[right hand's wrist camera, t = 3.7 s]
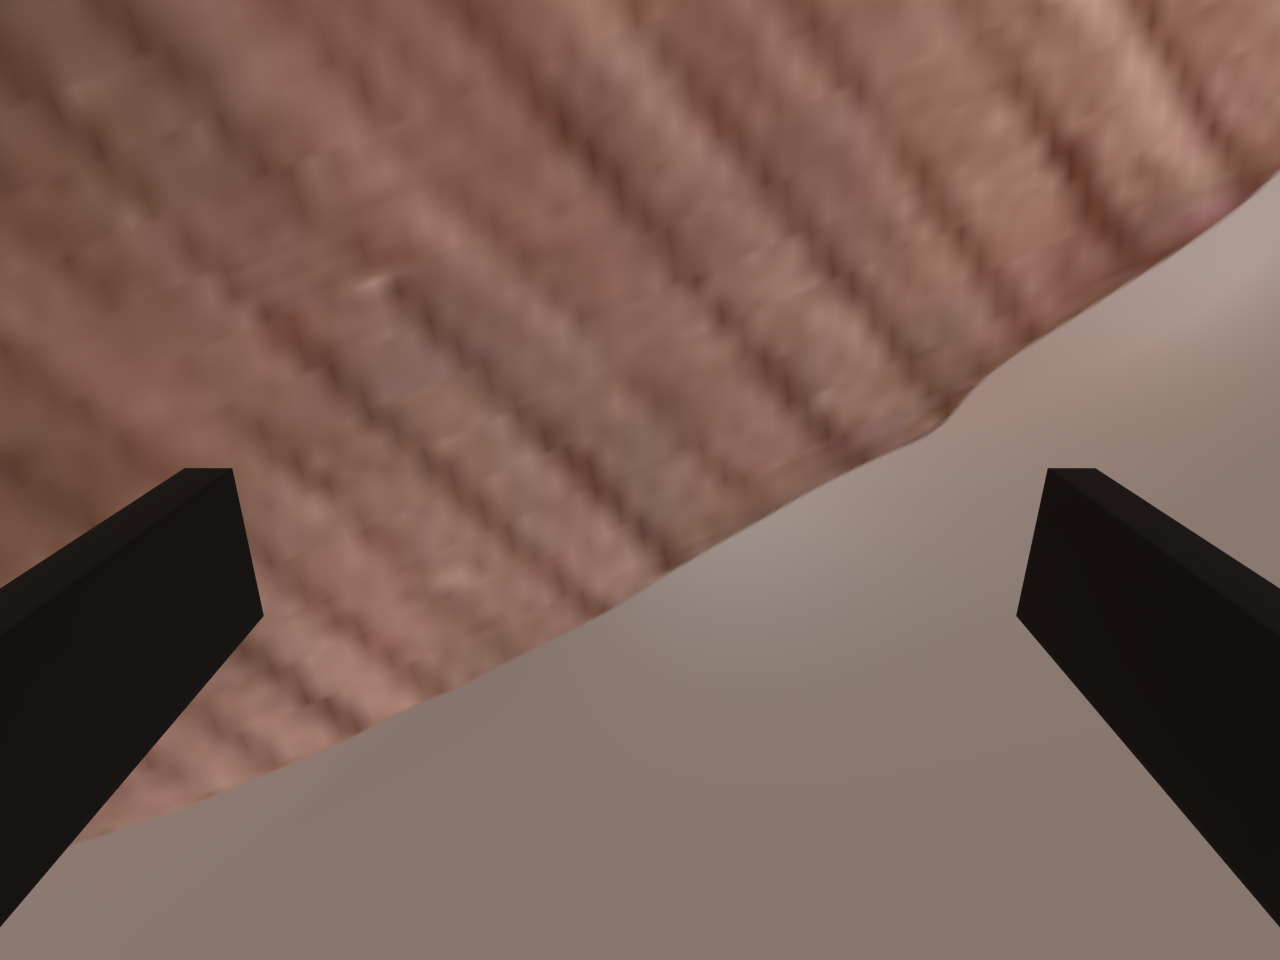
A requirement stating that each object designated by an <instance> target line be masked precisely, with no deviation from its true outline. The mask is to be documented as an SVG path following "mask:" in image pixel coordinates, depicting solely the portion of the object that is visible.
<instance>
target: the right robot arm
mask: <svg viewBox="0 0 1280 960" xmlns="http://www.w3.org/2000/svg"><path fill="white" fill-rule="evenodd" d="M263 616H264V615H263V610H262V605H261V601H260V596H259V591H258V587H257V582H256V577H255V573H254V568H253V563H252V559H251V554H250V549H249V545H248V540H247V535H246V531H245V526H244V521H243V517H242V512H241V507H240V503H239V498H238V493H237V489H236V484H235V479H234V475H233V470H232V468H184V469H183V470H181V471H180V472H178V473H177V474H175V475H174V476H172V477H171V478H169V479H167V480H166V481H164V482H163V483H161V484H160V485H158V486H157V487H155V488H154V489H152V490H151V491H149V492H147V493H146V494H144V495H143V496H141V497H140V498H138V499H137V500H135V501H134V502H132V503H131V504H129V505H128V506H126V507H124V508H123V509H121V510H120V511H118V512H117V513H115V514H114V515H112V516H111V517H109V518H108V519H106V520H105V521H103V522H101V523H100V524H98V525H97V526H95V527H94V528H92V529H91V530H89V531H88V532H86V533H85V534H83V535H82V536H80V537H78V538H77V539H75V540H74V541H72V542H71V543H69V544H68V545H66V546H65V547H63V548H62V549H60V550H59V551H57V552H55V553H54V554H52V555H51V556H49V557H48V558H46V559H45V560H43V561H42V562H40V563H39V564H37V565H36V566H34V567H32V568H31V569H29V570H28V571H26V572H25V573H23V574H22V575H20V576H19V577H17V578H16V579H14V580H13V581H11V582H9V583H8V584H6V585H5V586H3V587H2V588H0V927H1V926H2V924H3V923H4V922H5V921H6V920H7V918H8V917H9V916H10V915H11V914H12V913H13V911H14V910H15V909H16V908H17V907H18V905H19V904H20V903H21V902H22V901H23V900H24V898H25V897H26V896H27V895H28V894H29V892H30V891H31V890H32V889H33V888H34V887H35V885H36V884H37V883H38V882H39V881H40V879H41V878H42V877H43V876H44V875H45V874H46V872H47V871H48V870H49V869H50V868H51V867H52V865H53V864H54V863H55V862H56V861H57V859H58V858H59V857H60V856H61V855H62V854H63V852H64V851H65V850H66V849H67V848H68V846H69V845H70V844H71V843H72V842H73V841H74V839H75V838H76V837H77V836H78V835H79V833H80V832H81V831H82V830H83V829H84V828H85V826H86V825H87V824H88V823H89V822H90V820H91V819H92V818H93V817H94V816H95V815H96V813H97V812H98V811H99V810H100V809H101V807H102V806H103V805H104V804H105V803H106V802H107V800H108V799H109V798H110V797H111V796H112V794H113V793H114V792H115V791H116V790H117V789H118V787H119V786H120V785H121V784H122V783H123V781H124V780H125V779H126V778H127V777H128V776H129V774H130V773H131V772H132V771H133V770H134V768H135V767H136V766H137V765H138V764H139V763H140V761H141V760H142V759H143V758H144V757H145V755H146V754H147V753H148V752H149V751H150V750H151V748H152V747H153V746H154V745H155V744H156V742H157V741H158V740H159V739H160V738H161V737H162V735H163V734H164V733H165V732H166V731H167V729H168V728H169V727H170V726H171V725H172V724H173V722H174V721H175V720H176V719H177V718H178V716H179V715H180V714H181V713H182V712H183V711H184V709H185V708H186V707H187V706H188V705H189V703H190V702H191V701H192V700H193V699H194V698H195V696H196V695H197V694H198V693H199V692H200V690H201V689H202V688H203V687H204V686H205V685H206V683H207V682H208V681H209V680H210V679H211V678H212V676H213V675H214V674H215V673H216V672H217V670H218V669H219V668H220V667H221V666H222V665H223V663H224V662H225V661H226V660H227V659H228V657H229V656H230V655H231V654H232V653H233V652H234V650H235V649H236V648H237V647H238V646H239V644H240V643H241V642H242V641H243V640H244V639H245V637H246V636H247V635H248V634H249V633H250V631H251V630H252V629H253V628H254V627H255V626H256V624H257V623H258V622H259V621H260V620H261V618H262V617H263ZM1016 616H1017V617H1018V618H1019V620H1020V621H1021V622H1022V623H1023V624H1024V626H1025V627H1026V628H1027V629H1028V630H1029V631H1030V633H1031V634H1032V635H1033V636H1034V637H1035V638H1036V640H1037V641H1038V642H1039V643H1040V644H1041V646H1042V647H1043V648H1044V649H1045V650H1046V652H1047V653H1048V654H1049V655H1050V656H1051V657H1052V659H1053V660H1054V661H1055V662H1056V663H1057V664H1058V666H1059V667H1060V668H1061V669H1062V670H1063V672H1064V673H1065V674H1066V675H1067V676H1068V677H1069V679H1070V680H1071V681H1072V682H1073V683H1074V685H1075V686H1076V687H1077V688H1078V689H1079V690H1080V692H1081V693H1082V694H1083V695H1084V696H1085V698H1086V699H1087V700H1088V701H1089V702H1090V703H1091V705H1092V706H1093V707H1094V708H1095V709H1096V711H1097V712H1098V713H1099V714H1100V715H1101V716H1102V718H1103V719H1104V720H1105V721H1106V722H1107V724H1108V725H1109V726H1110V727H1111V728H1112V729H1113V731H1114V732H1115V733H1116V734H1117V735H1118V737H1119V738H1120V739H1121V740H1122V741H1123V742H1124V744H1125V745H1126V746H1127V747H1128V748H1129V750H1130V751H1131V752H1132V753H1133V754H1134V755H1135V757H1136V758H1137V759H1138V760H1139V761H1140V763H1141V764H1142V765H1143V766H1144V767H1145V768H1146V770H1147V771H1148V772H1149V773H1150V774H1151V776H1152V777H1153V778H1154V779H1155V780H1156V781H1157V783H1158V784H1159V785H1160V786H1161V787H1162V788H1163V790H1164V791H1165V792H1166V793H1167V794H1168V796H1169V797H1170V798H1171V799H1172V800H1173V802H1174V803H1175V804H1176V805H1177V806H1178V807H1179V809H1180V810H1181V811H1182V812H1183V813H1184V815H1185V816H1186V817H1187V818H1188V819H1189V820H1190V822H1191V823H1192V824H1193V825H1194V826H1195V827H1196V829H1197V830H1198V831H1199V832H1200V833H1201V835H1202V836H1203V837H1204V838H1205V839H1206V841H1207V842H1208V843H1209V844H1210V845H1211V846H1212V848H1213V849H1214V850H1215V851H1216V852H1217V854H1218V855H1219V856H1220V857H1221V858H1222V859H1223V861H1224V862H1225V863H1226V864H1227V865H1228V866H1229V868H1230V869H1231V870H1232V871H1233V872H1234V874H1235V875H1236V876H1237V877H1238V878H1239V879H1240V881H1241V882H1242V883H1243V884H1244V885H1245V887H1246V888H1247V889H1248V890H1249V891H1250V892H1251V894H1252V895H1253V896H1254V897H1255V898H1256V900H1257V901H1258V902H1259V903H1260V904H1261V905H1262V907H1263V908H1264V909H1265V910H1266V911H1267V913H1268V914H1269V915H1270V916H1271V917H1272V918H1273V920H1274V921H1275V922H1276V923H1277V924H1278V926H1279V927H1280V588H1278V587H1277V586H1275V585H1274V584H1272V583H1270V582H1269V581H1267V580H1266V579H1264V578H1263V577H1261V576H1260V575H1258V574H1257V573H1255V572H1254V571H1252V570H1251V569H1249V568H1248V567H1246V566H1244V565H1243V564H1241V563H1240V562H1238V561H1237V560H1235V559H1234V558H1232V557H1231V556H1229V555H1228V554H1226V553H1225V552H1223V551H1221V550H1220V549H1218V548H1217V547H1215V546H1214V545H1212V544H1211V543H1209V542H1208V541H1206V540H1205V539H1203V538H1202V537H1200V536H1198V535H1197V534H1195V533H1194V532H1192V531H1191V530H1189V529H1188V528H1186V527H1185V526H1183V525H1182V524H1180V523H1179V522H1177V521H1175V520H1174V519H1172V518H1171V517H1169V516H1168V515H1166V514H1165V513H1163V512H1162V511H1160V510H1158V509H1157V508H1156V507H1154V506H1152V505H1151V504H1149V503H1148V502H1146V501H1145V500H1143V499H1142V498H1140V497H1139V496H1137V495H1136V494H1134V493H1132V492H1131V491H1129V490H1128V489H1126V488H1125V487H1123V486H1122V485H1120V484H1119V483H1117V482H1116V481H1114V480H1113V479H1111V478H1109V477H1108V476H1106V475H1105V474H1103V473H1102V472H1100V471H1099V470H1097V469H1096V468H1048V470H1047V475H1046V479H1045V484H1044V489H1043V493H1042V498H1041V503H1040V507H1039V512H1038V517H1037V521H1036V526H1035V531H1034V535H1033V540H1032V545H1031V549H1030V554H1029V559H1028V563H1027V568H1026V573H1025V578H1024V582H1023V587H1022V592H1021V596H1020V601H1019V606H1018V610H1017V615H1016Z"/></svg>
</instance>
